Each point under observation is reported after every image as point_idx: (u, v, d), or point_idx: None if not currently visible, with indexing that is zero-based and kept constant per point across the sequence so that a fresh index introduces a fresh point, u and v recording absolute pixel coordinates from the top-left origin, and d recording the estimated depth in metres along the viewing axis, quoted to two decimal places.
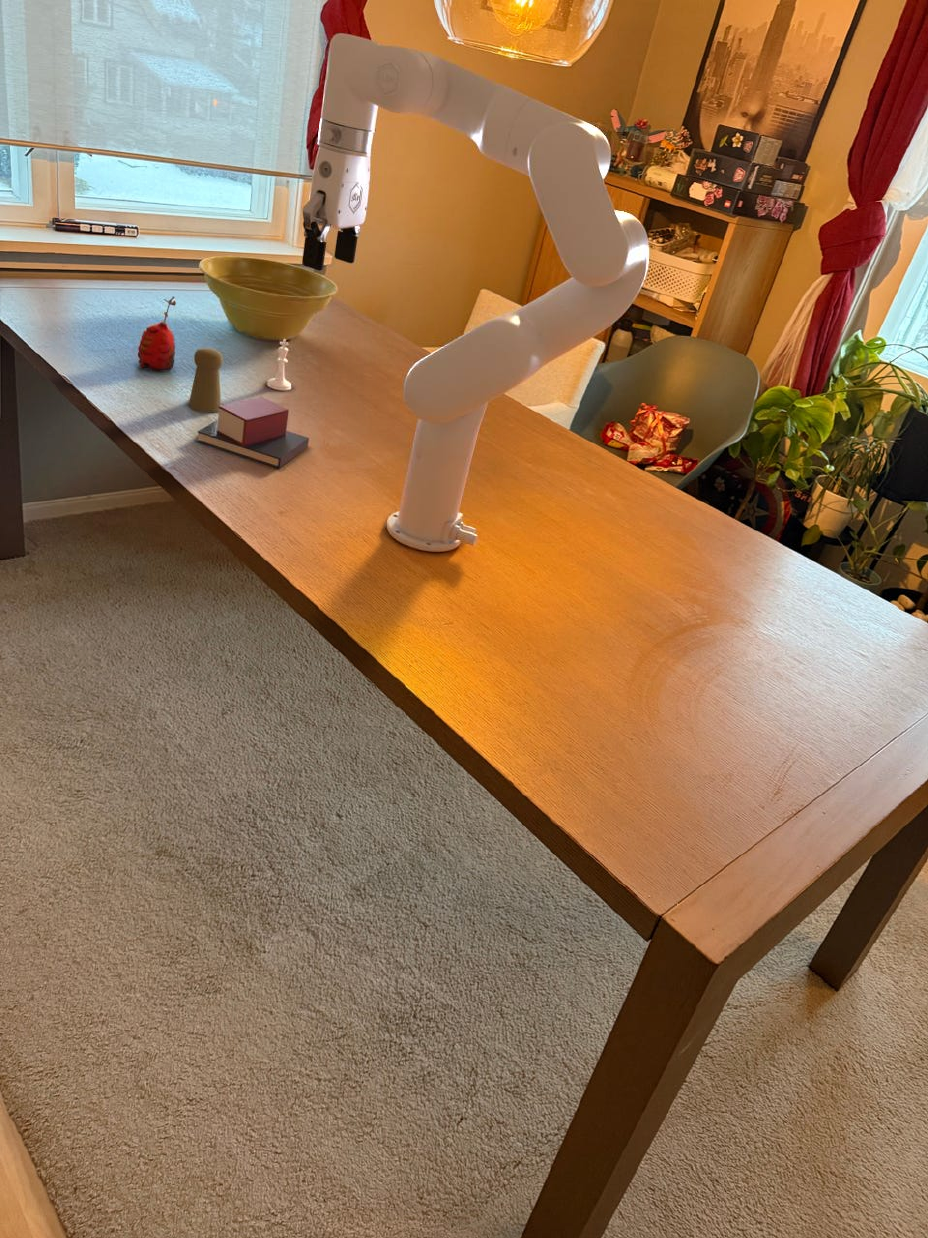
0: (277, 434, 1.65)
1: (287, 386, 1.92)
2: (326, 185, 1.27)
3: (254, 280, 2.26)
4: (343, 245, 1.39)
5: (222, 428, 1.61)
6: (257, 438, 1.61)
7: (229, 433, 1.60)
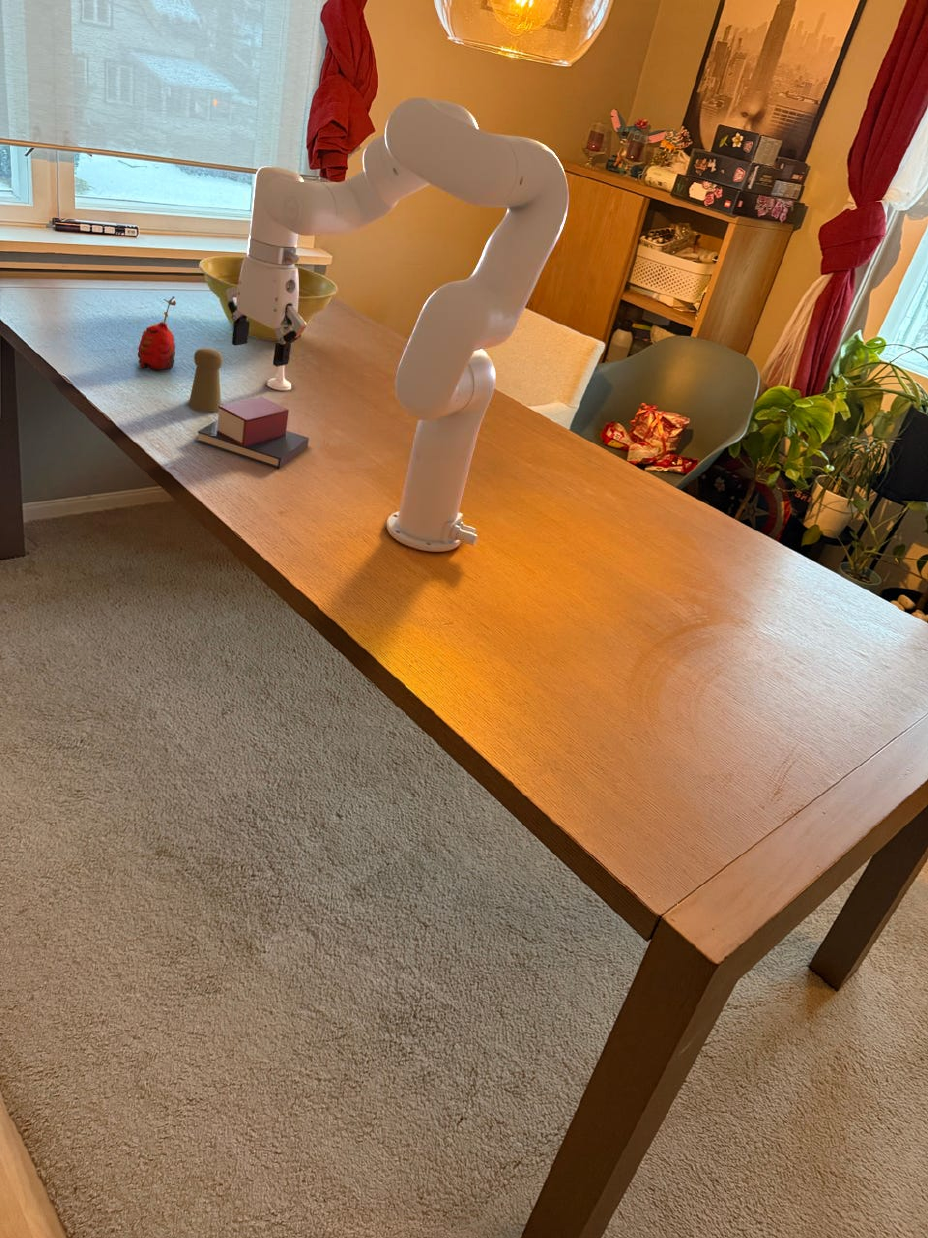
0: (277, 434, 1.65)
1: (287, 386, 1.92)
2: (292, 297, 1.49)
3: None
4: (241, 332, 1.57)
5: (222, 428, 1.61)
6: (257, 438, 1.61)
7: (229, 433, 1.60)
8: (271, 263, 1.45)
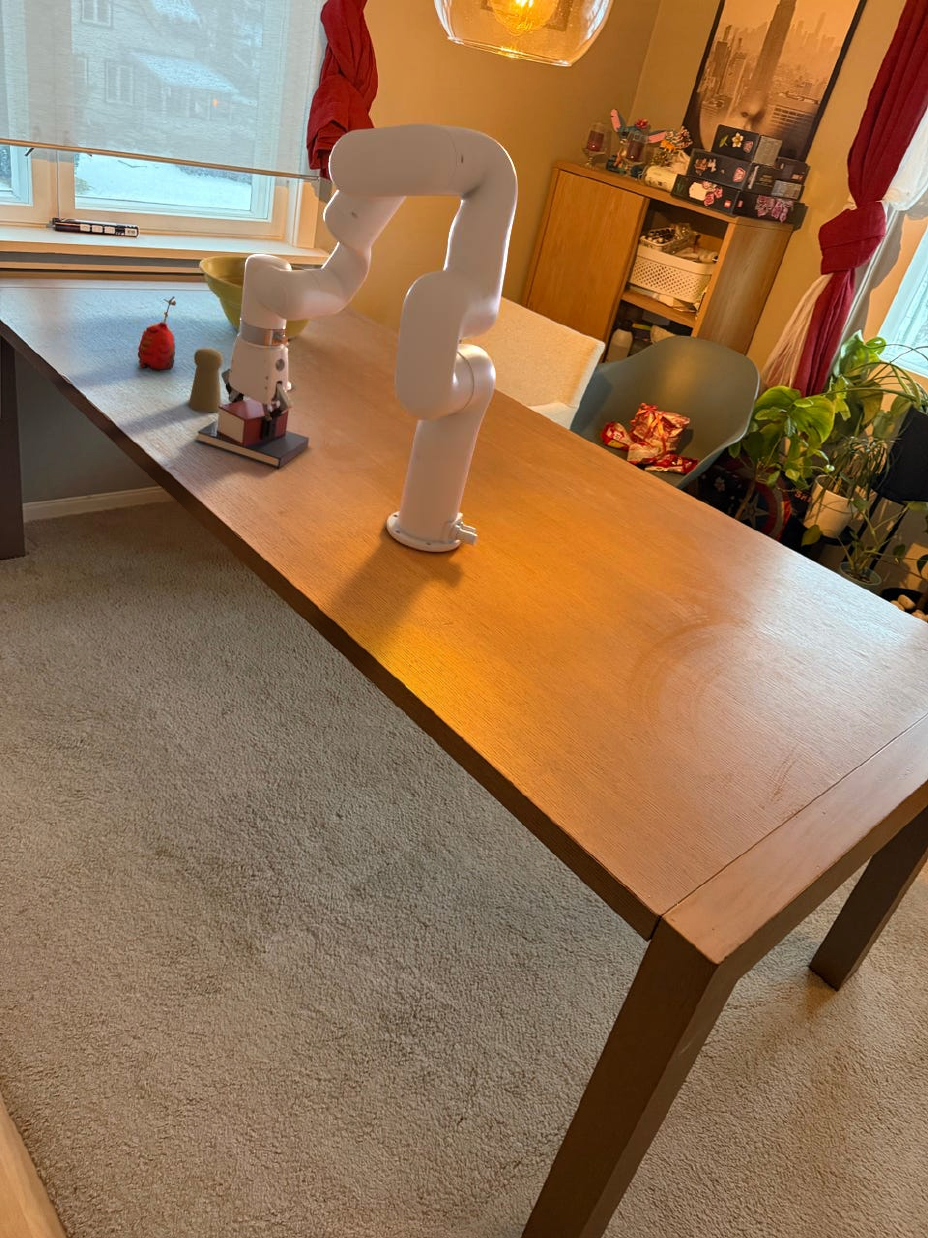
0: (277, 434, 1.65)
1: None
2: (282, 375, 1.56)
3: None
4: None
5: (222, 428, 1.61)
6: (257, 438, 1.61)
7: (229, 433, 1.60)
8: (261, 345, 1.52)
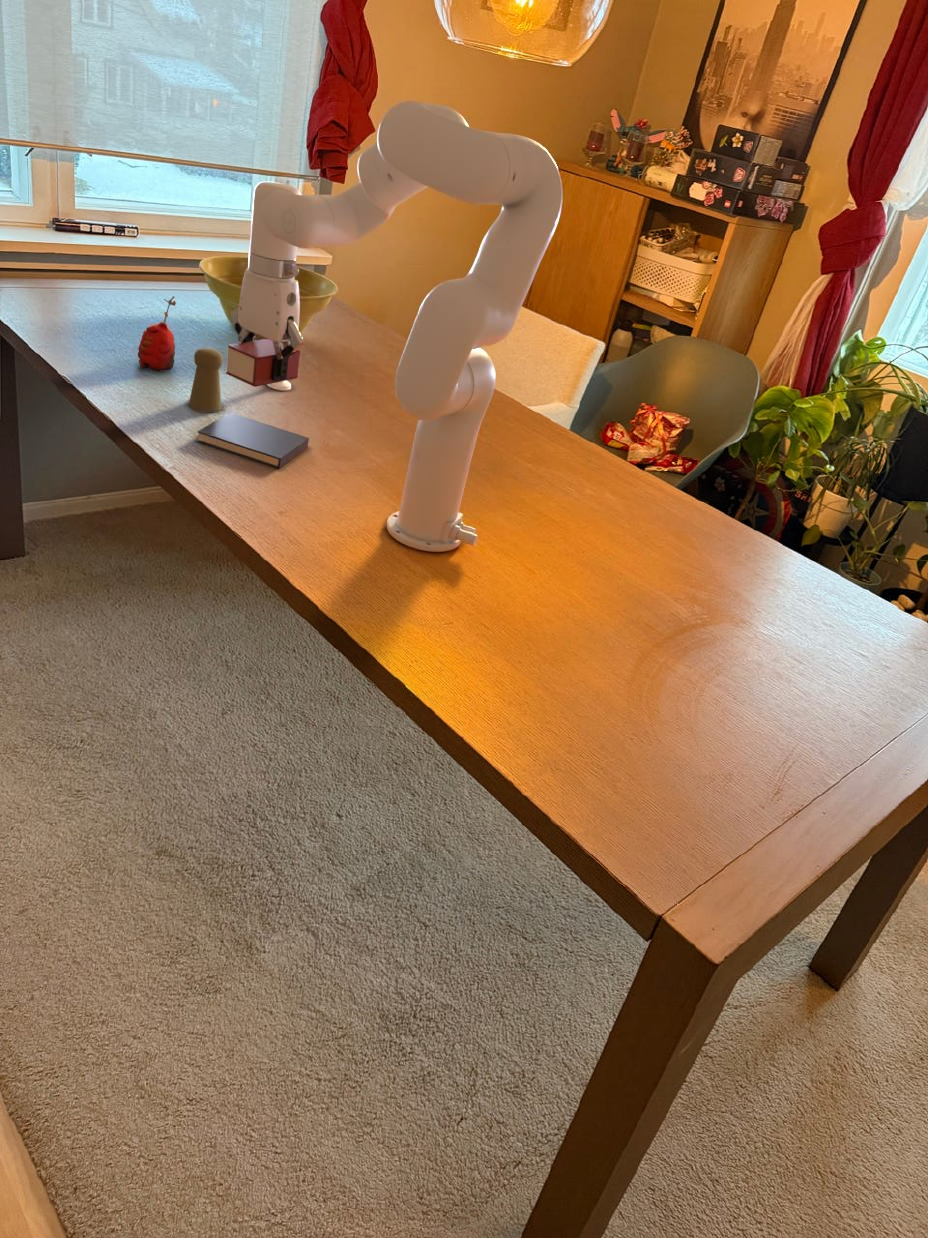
0: (289, 376, 1.59)
1: (287, 386, 1.92)
2: (293, 310, 1.50)
3: None
4: None
5: (232, 369, 1.55)
6: (268, 378, 1.55)
7: (239, 373, 1.54)
8: (271, 277, 1.46)
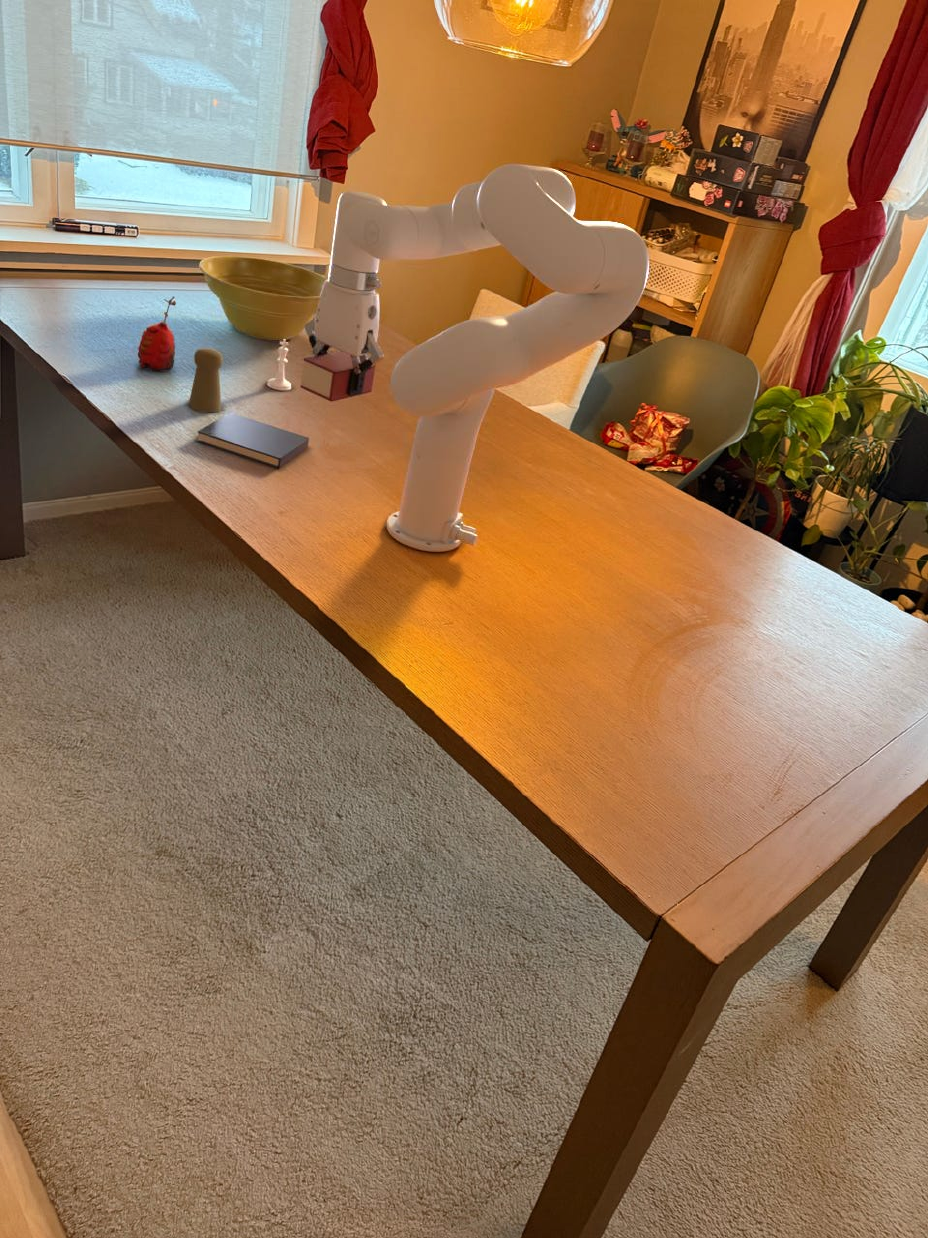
0: (363, 390, 1.54)
1: (287, 386, 1.92)
2: (373, 324, 1.45)
3: (254, 280, 2.26)
4: None
5: (307, 382, 1.50)
6: (344, 393, 1.50)
7: (315, 387, 1.49)
8: (353, 289, 1.41)
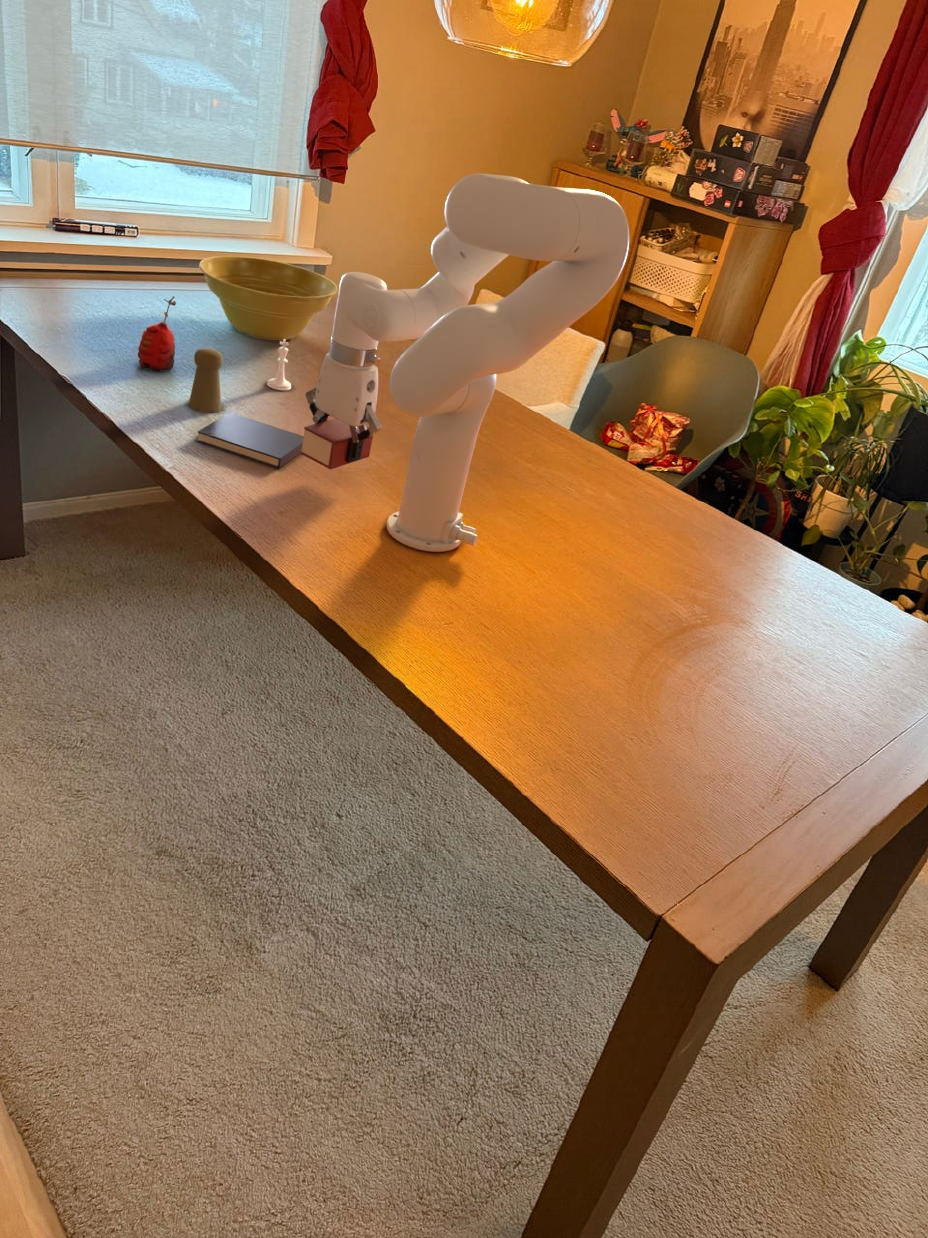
0: (361, 455, 1.60)
1: (287, 386, 1.92)
2: (372, 397, 1.51)
3: (254, 280, 2.26)
4: None
5: (307, 450, 1.55)
6: (343, 460, 1.56)
7: (314, 455, 1.55)
8: (353, 365, 1.47)
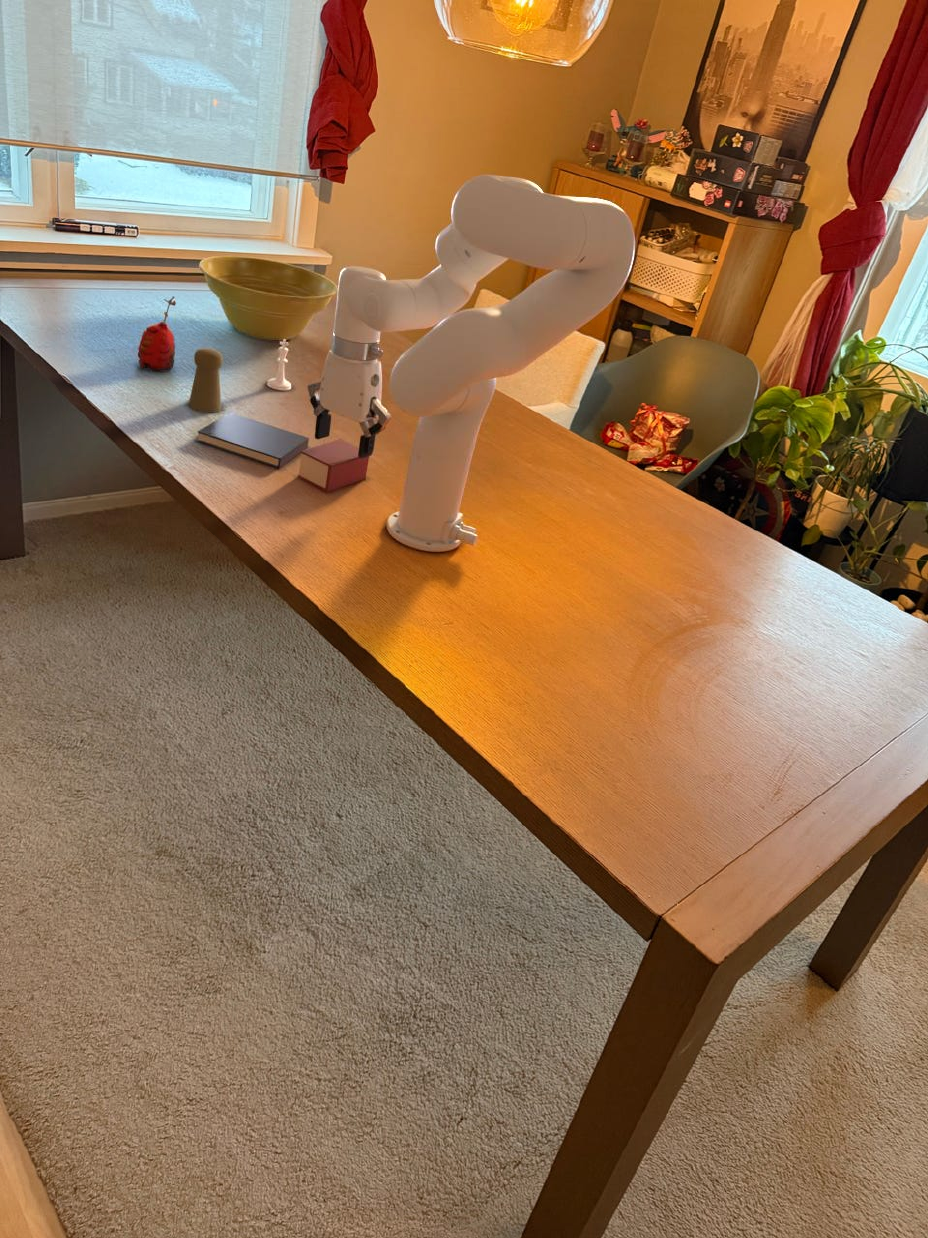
0: (358, 478, 1.62)
1: (287, 386, 1.92)
2: (376, 391, 1.50)
3: (254, 280, 2.26)
4: (324, 426, 1.58)
5: (304, 473, 1.58)
6: (339, 483, 1.58)
7: (311, 478, 1.57)
8: (356, 360, 1.46)
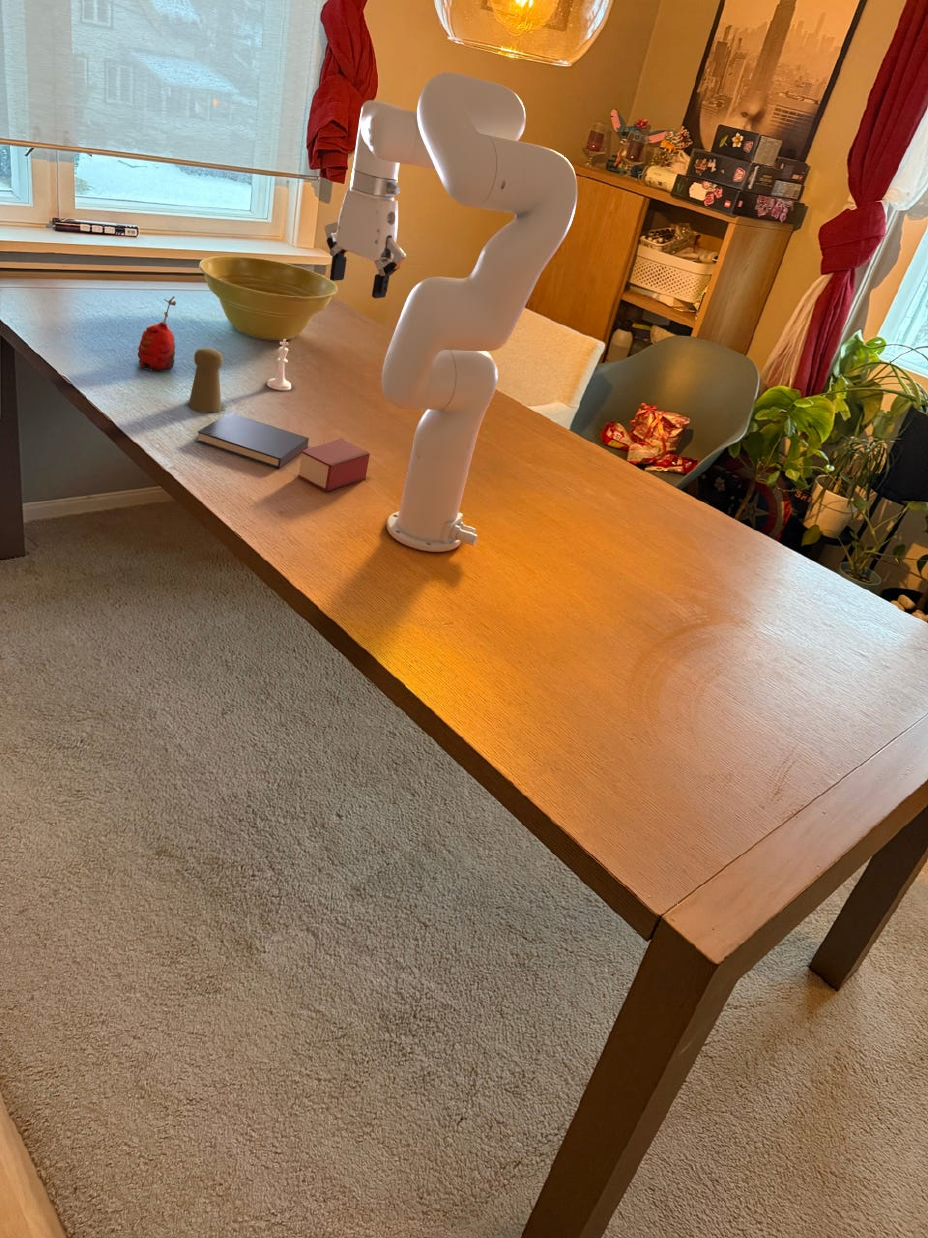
0: (358, 478, 1.62)
1: (287, 386, 1.92)
2: (392, 230, 1.55)
3: (254, 280, 2.26)
4: (339, 267, 1.63)
5: (304, 473, 1.58)
6: (339, 483, 1.58)
7: (311, 478, 1.57)
8: (374, 195, 1.51)
